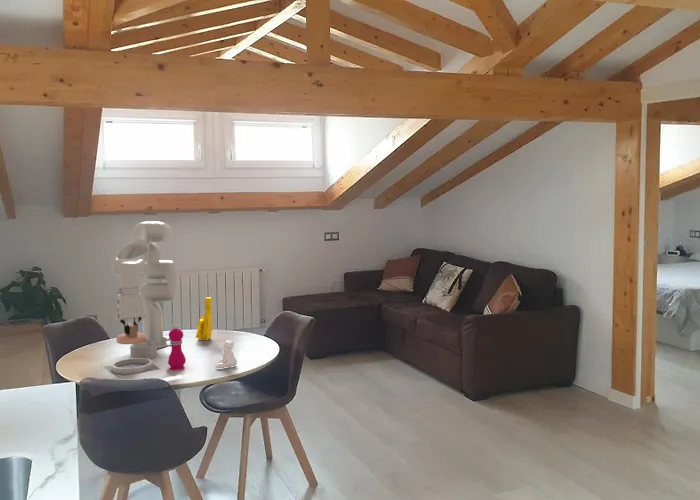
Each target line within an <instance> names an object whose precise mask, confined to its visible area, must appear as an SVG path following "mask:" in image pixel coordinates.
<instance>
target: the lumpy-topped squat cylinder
mask: <svg viewBox="0 0 700 500" xmlns="http://www.w3.org/2000/svg"><path fill="white" fill-rule="evenodd" d="M157 355H158V349H157V343H156V341H153V340H152V339H149V340H147V339H146V341H144V342H141V343H137V344H130V358H147V359H151V360H152V359H153V358H155V357H157Z"/></svg>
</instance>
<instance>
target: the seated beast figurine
mask: <svg viewBox="0 0 700 500" xmlns="http://www.w3.org/2000/svg"><path fill="white" fill-rule="evenodd" d="M234 343H235V341H234V340H229V339H227V340H225V343H224V344H223V347H222V349H223V354H222V359H221V360H219V362H218V364H215V369H216V368H224V367H231V366H235V365H236V366H237V364H238V361H237V358H236V357H235V355H234V351H233V348H234ZM236 366H235V367H236Z"/></svg>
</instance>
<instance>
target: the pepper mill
mask: <svg viewBox="0 0 700 500" xmlns="http://www.w3.org/2000/svg"><path fill="white" fill-rule="evenodd" d="M168 337H169V338H170V339H171V340H170V341H169V342H170V343H169V344H170V346H171V350H170V354H169V356H168V359H167V364H168V366H169V370H171V371H181V370H184V369H185V368H186V367H185V363H186V360H187V359H186V356H185V355H184V352H183V350H182V344H183V338H184V331H183V330H182V329H180V328H179V326H178V325H177V324H175V325H174V326H173V329H171V330H170V331H169V332H168Z"/></svg>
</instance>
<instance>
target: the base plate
mask: <svg viewBox="0 0 700 500" xmlns="http://www.w3.org/2000/svg"><path fill="white" fill-rule="evenodd" d="M104 369H106V370H108V371H109V372H110V373H112V374H113V375H115V377H117V378H119V377H125V376H129V375H131V376H132V375H135V374H141V373H145V372H146V373H147V372H152V371H156V370H161V368H160V367H158V365H155V364H154V360H153V359H152V358H151V359H147V358H131V357H129V358H123V359H119V360H116V361H114V362H112V363H111V364H110V365H107V366H104Z"/></svg>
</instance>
